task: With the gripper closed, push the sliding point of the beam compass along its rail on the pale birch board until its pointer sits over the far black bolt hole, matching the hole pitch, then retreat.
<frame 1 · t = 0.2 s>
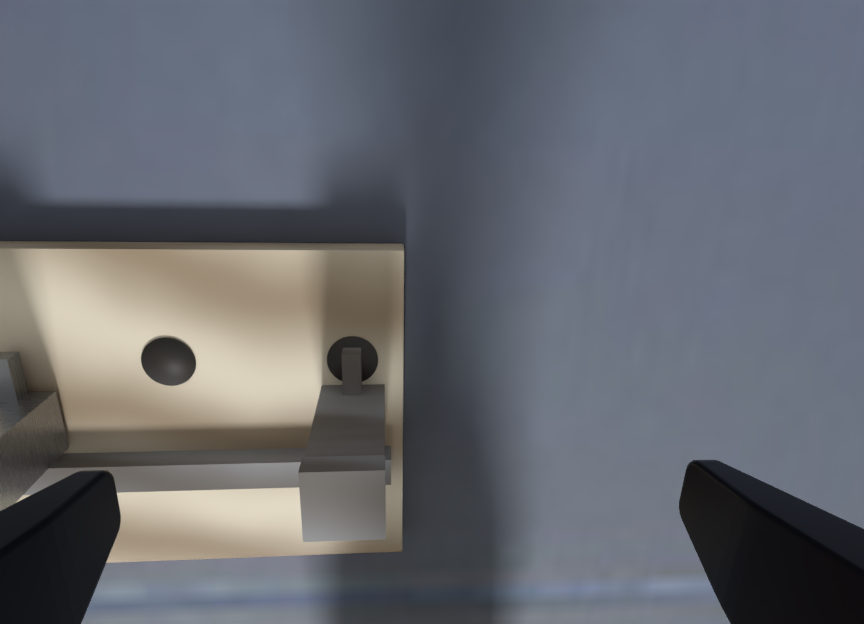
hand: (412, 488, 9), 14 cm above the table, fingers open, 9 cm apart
board: (101, 407, 23), on the table
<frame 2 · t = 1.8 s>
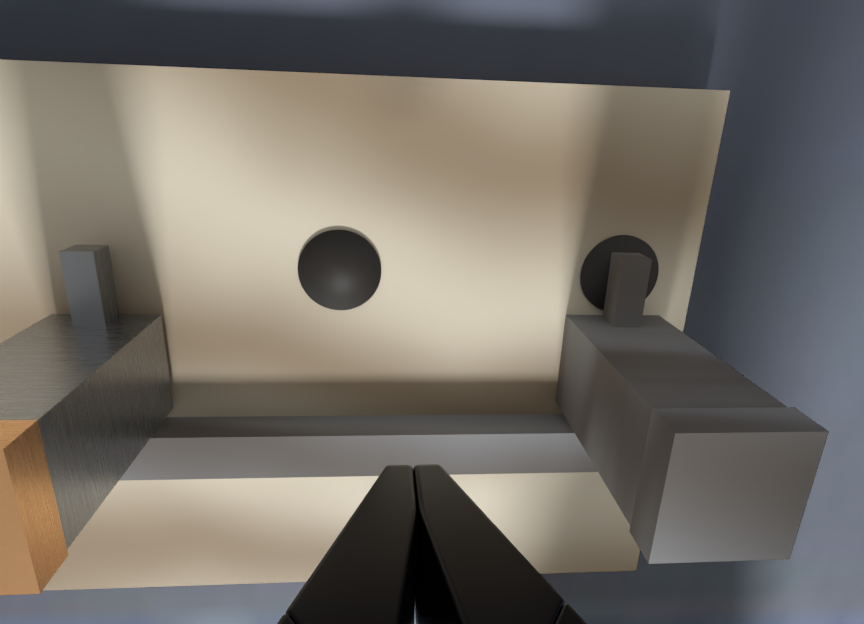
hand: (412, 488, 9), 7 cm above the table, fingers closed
board: (216, 349, 15), on the table
slider: (36, 385, 10), point 4 cm above the table, slide at 0.0 cm
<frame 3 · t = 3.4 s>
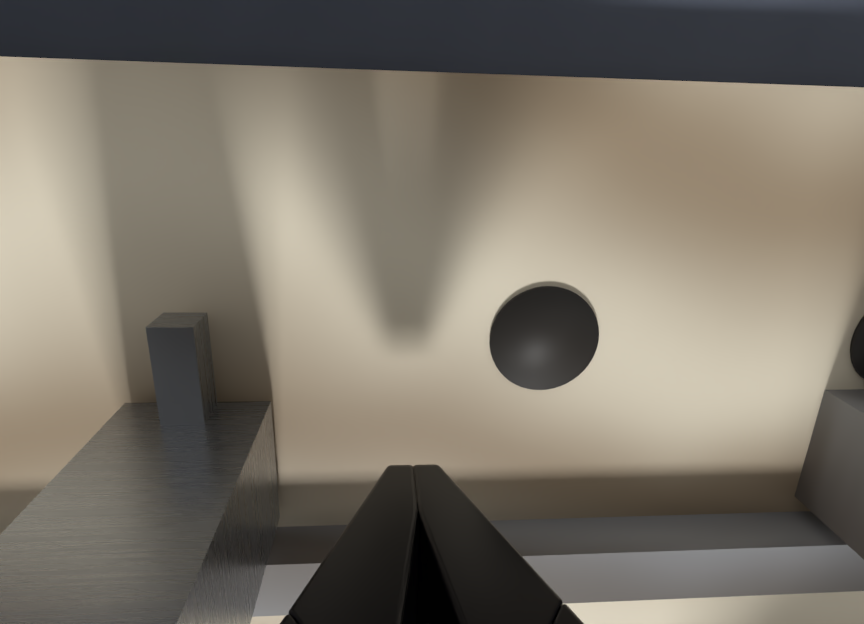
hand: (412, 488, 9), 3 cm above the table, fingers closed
board: (356, 431, 12), on the table
slider: (128, 538, 7), point 4 cm above the table, slide at 0.7 cm, touching gripper
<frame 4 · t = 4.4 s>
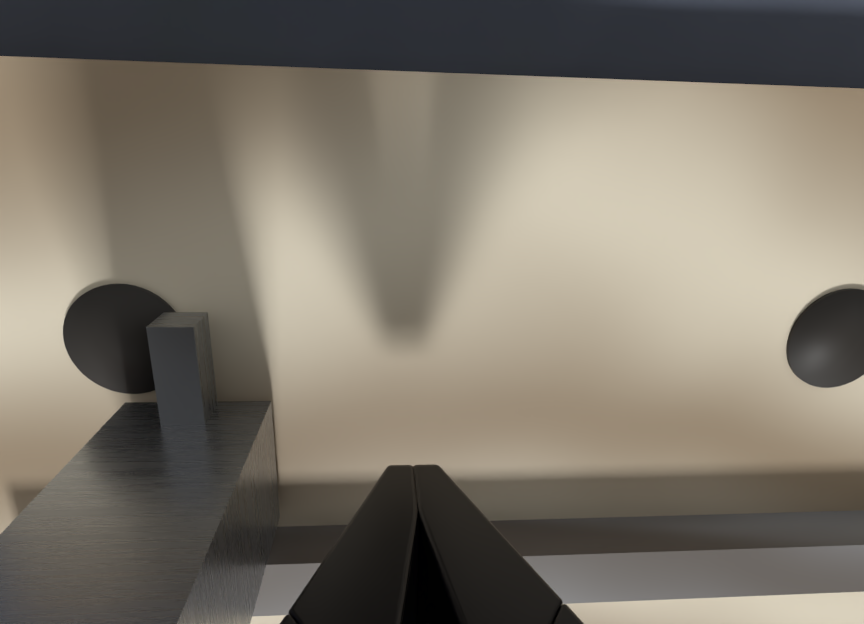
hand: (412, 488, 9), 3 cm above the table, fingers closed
board: (615, 428, 12), on the table
slider: (129, 538, 7), point 4 cm above the table, slide at 6.4 cm, touching gripper
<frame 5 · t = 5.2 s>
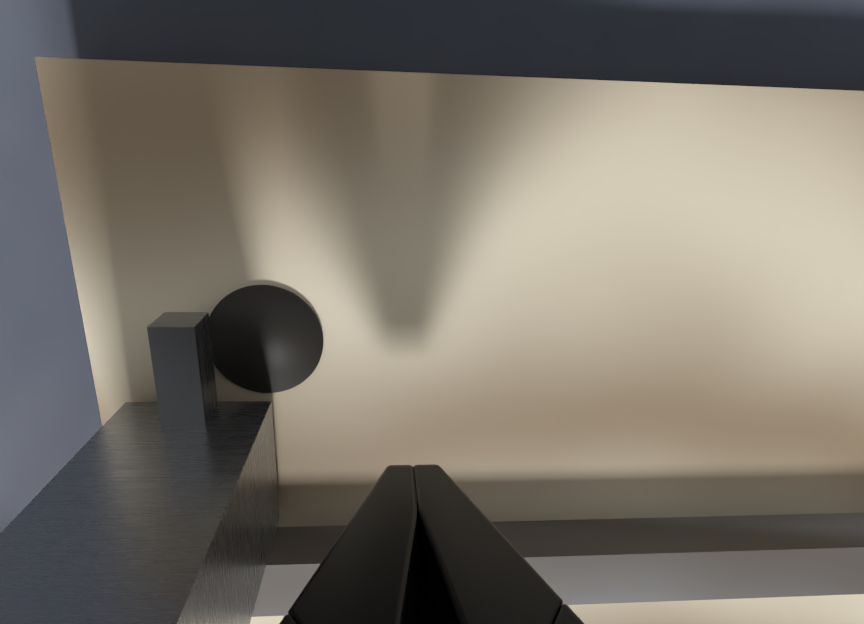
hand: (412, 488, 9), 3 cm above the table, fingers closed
board: (715, 428, 12), on the table
slider: (129, 538, 7), point 4 cm above the table, slide at 8.7 cm, touching gripper
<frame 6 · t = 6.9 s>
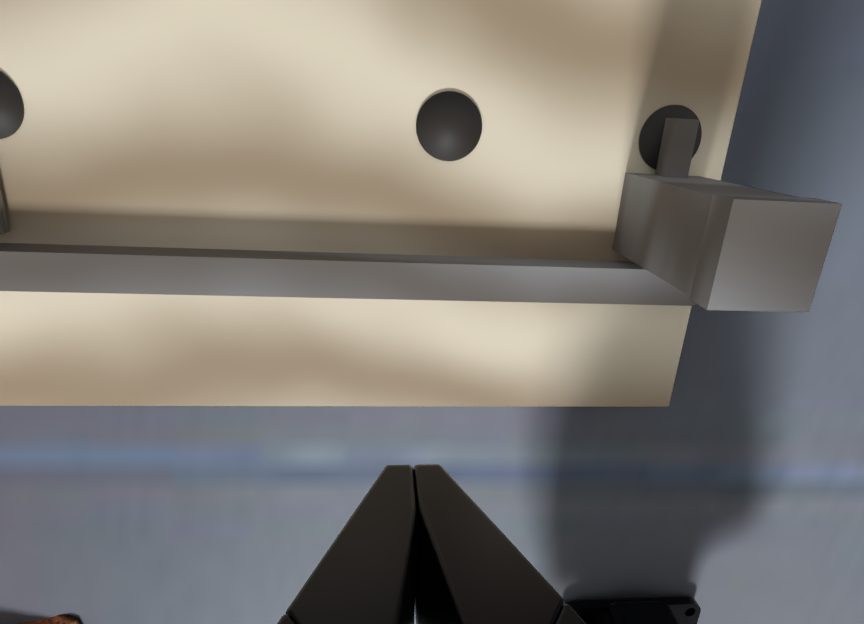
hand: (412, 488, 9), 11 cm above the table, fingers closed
board: (335, 202, 18), on the table
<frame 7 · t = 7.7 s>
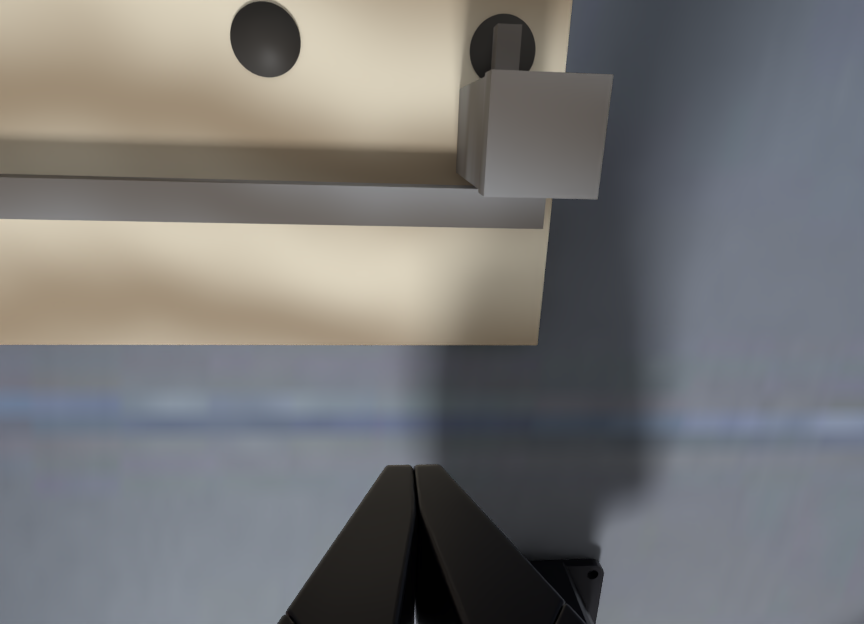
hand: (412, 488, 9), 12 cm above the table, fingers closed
board: (168, 129, 18), on the table
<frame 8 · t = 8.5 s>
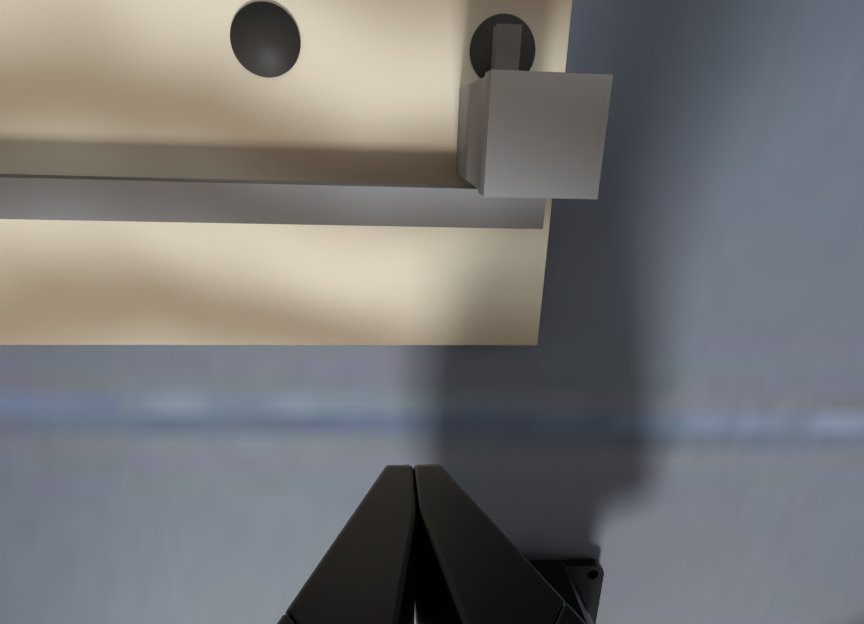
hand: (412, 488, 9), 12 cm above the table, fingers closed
board: (168, 129, 18), on the table
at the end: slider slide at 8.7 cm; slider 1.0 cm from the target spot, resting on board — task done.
